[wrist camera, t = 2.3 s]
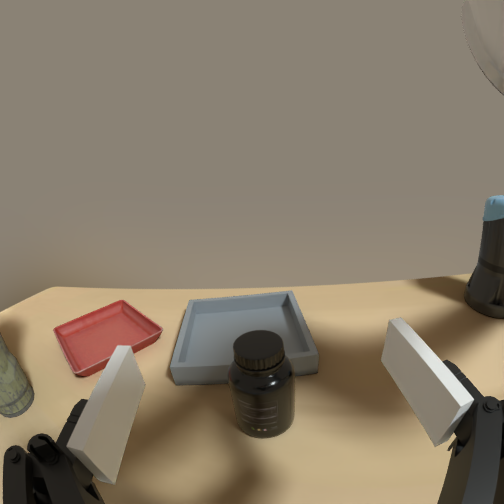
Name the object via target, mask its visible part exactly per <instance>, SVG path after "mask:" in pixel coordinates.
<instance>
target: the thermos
mask: <svg viewBox="0 0 504 504" xmlns="http://www.w3.org/2000/svg"><path fill="white" fill-rule="evenodd" d="M33 400H34V391H33V389H32V387H31V386H30V385H29V383H28V381H27V377H26V376H25V374H24V372H23V370H22V369H21V367H20V365H19V363H18V361H17V359H16V358H15V357H14V356H13V355H12V354H11V353H10V352H9V350H8V348H7V346H6V344H5V342H4V340H3V338H2V336H1V333H0V414H2V415H3V416H5V417H9V418H11V417H16V416H19V415H21V414H23V413H24V412H25V411H26V410H27V409H28V408H29V407H30V406H31V404H32V402H33Z"/></svg>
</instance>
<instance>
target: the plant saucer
mask: <svg viewBox="0 0 504 504" xmlns="http://www.w3.org/2000/svg"><path fill="white" fill-rule="evenodd" d="M53 331H54V333H55V336H56V338H57V340H58V342H59V344H60V347H61V349H62V351H63V353H64V355H65V357H66V359H67V361H68V363H69V365H70V367H71V369H72V371H73V373H75V374H77V375H80V376H90V375H92V374H94V373H96V372H98V371H100V370H102V369H104V368H105V367H106V365H107V363H108V362H109V360H110V358H111V356H112V354H113V353H114V351H115V349H116V347H117V345H122V346H131V348H132V351H133V354H134V353H136V352H138V351H140V350H142V349H143V348H145V347H147V346H149V345H151V344H153V343H154V342H155V341H156V340H157V338H158V337H159V336H160V334H161V333H162V331H163V328H162V327H161V326H159V325H158V324H156V323H155V322H153V321H152V320H150V319H149V318H148V317H146V316H145V315H143V314H142V313H141V312H139V311H138V310H137V309H135V308H134V307H133V306H131V305H130V304H129V303H127V302H126V301H125V300H119V301H117V302H114V303H112V304H110V305H107V306H105V307H103V308H100V309H98V310H95V311H93V312H91V313H88V314H86V315H83V316H81V317H79V318H76V319H74V320H72V321H69V322H67V323H65V324H62V325H60V326H58V327H55V328H54V329H53Z"/></svg>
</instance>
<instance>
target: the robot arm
mask: <svg viewBox="0 0 504 504" xmlns="http://www.w3.org/2000/svg"><path fill="white" fill-rule="evenodd" d="M462 23H463V29H464V33H465V37H466V40H467V43H468V45H469V48H470V50H471V52H472V54H473V56H474V58H475V60H476V62H477V64H478V65H479V67H480V69H481V70H482V72H483V73H484V75H485V76H486V77H487V79H488V80H489V81H490V82H491V83H492V85H493V86H494V87H495V88H496V89H497V90H498V91H499V92H500V93H502V94H503V95H504V0H464V2H463V6H462ZM483 221H484V222H483V231H482V239H481V246H480V252H479V258H478V263H477V266H476V268H475V270H474V272H473V274H472V276H471V277H470V279H469V282H468V283H467V285H466V289H465V294H464V298H465V300H466V302H467V303H468V304H469V305H470V306H471V307H472V308H473V309H475V310H476V311H478V312H480V313H482V314H485V315H487V316H491V317H495V318H504V195H503V196H492V197H490V198H488V199H487V201H486V203H485V210H484V217H483ZM381 362H382V363H383V365H384V366H385V368H386V369H387V371H388V372H389V374H390V375H391V377H392V378H393V380H394V381H395V383H396V384H397V386H398V388H399V389H400V391H401V392H402V394H403V395H404V397H405V398H406V400H407V402H408V403H409V405H410V406H411V408H412V410H413V411H414V413H415V414H416V416H417V418H418V419H419V421H420V422H421V424H422V426H423V427H424V429H425V431H426V432H427V434H428V436H429V437H430V439H431V441H432V442H433V444H434V446H435V447H436V446H438V445H440V444H442V443H444V442H446V441H448V440H449V438H450V437H451V436H452V434H453V433H455V435H456V436H457V437H456V438H455V439H454V441H453V442H452V443H451V445H450V446H449V448H448V450H447V451H450V449H451V448H452V447H453V449H452V454H451V458H450V462H449V466H448V470H447V474H446V478H445V481H444V484H443V488H442V491H441V494H440V497H439V500H438V503H437V504H504V400H501V401H499V400H498V399H496V398H495V397H491V396H486V397H484V396H483V395H482V394H481V393H480V392H479V391H478V390H477V388H476V387H475V386H474V385H473V384H472V383H471V382H470V380H469V379H468V378H466V376H465V375H464V374H463V373H461V370H460V369H459V368H458V367H457V366H456V365H455V364H453V363H452V362H450V361H448V360H445V361H441V360H440V359H439V358H438V357H437V355H436V354H435V353H434V352H433V351H432V350H431V349H430V348H429V347H428V345H427V344H426V343H425V342H424V341H423V340H422V339H421V338H420V337H419V336H418V335H417V334H416V333H415V331H414V330H413V329H412V328H411V327H410V326H409V325H408V324H407V323H406V322H405V321H404V320H403V319H402V318H396V319H392V320H389V324H388V329H387V334H386V339H385V344H384V349H383V353H382V358H381ZM144 388H145V382H144V380H143V377H142V375H141V372H140V370H139V367H138V365H137V362H136V359H135V357H134V354H133V351H132V348H131V346H122V345H117V347H116V349H115V351H114V353H113V354H112V356H111V358H110V360H109V362H108V363H107V365H106V367H105V369H104V371H103V373H102V375H101V376H100V378H99V380H98V382H97V384H96V386H95V388H94V390H93V392H92V394H91V396H90V398H89V400H86V399H81V400H80V401H79V402H78V403H77V404H76V405H75V406H74V408H73V409H72V411H71V413H70V416H69V417H68V419H67V422H66V423H65V425H64V427H63V429H62V431H61V433H60V435H59V437H58V439H57V442H56V443H55V442H54V440H53V439H52V438H51V437H50V436H48V435H47V434H37V435H35V436H33V437H32V438H31V439H30V440H29V443H28V445H27V450H28V451H29V452H30V453H26V451H25V450H24V449H23V448H21V447H20V446H16V445H15V446H11V447H10V448H8V449H7V450H6V452H5V455H4V464H3V504H105V503H104V501H103V499H102V497H101V496H100V494H99V492H98V490H97V488H96V486H95V484H94V483H93V482H92V477H93V475H94V476H95V477H96V478H97V479H98V480H99V481H101V482H105V483H110V484H114V485H115V483H116V480H117V476H118V472H119V468H120V465H121V461H122V458H123V454H124V451H125V448H126V444H127V441H128V438H129V434H130V431H131V428H132V425H133V421H134V418H135V415H136V412H137V409H138V406H139V403H140V400H141V397H142V394H143V391H144Z"/></svg>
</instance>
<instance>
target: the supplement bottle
mask: <svg viewBox="0 0 504 504" xmlns="http://www.w3.org/2000/svg"><path fill="white" fill-rule="evenodd" d="M233 353H234V360H233V362H232V363H231V365H230V367H229V369H228V382H229V386H230V391H231V396H232V400H233V405H234V409H235V413H236V417H237V421H238V424H239V426H240V427H241V429H242V430H243V431H244V432H246V433H247V434H249V435H251V436H254V437H257V438H271V437H275V436H278V435H280V434H282V433H284V432H285V431H286V430H287V429H288V428H289V427H290V426H291V424H292V423H293V420H294V412H295V369H294V366H293V363H292V362H291V360H290V359H289V358H288V357H287V356H286V355H285V350H284V342H283V340H282V338H281V337H280V336H279V335H278V334H277V333H274V332H271V331H267V330H255V331H250V332H247V333H244V334H242V335H240V336H239V337H238V338H237V339H236V340H235V342H234V343H233Z"/></svg>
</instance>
